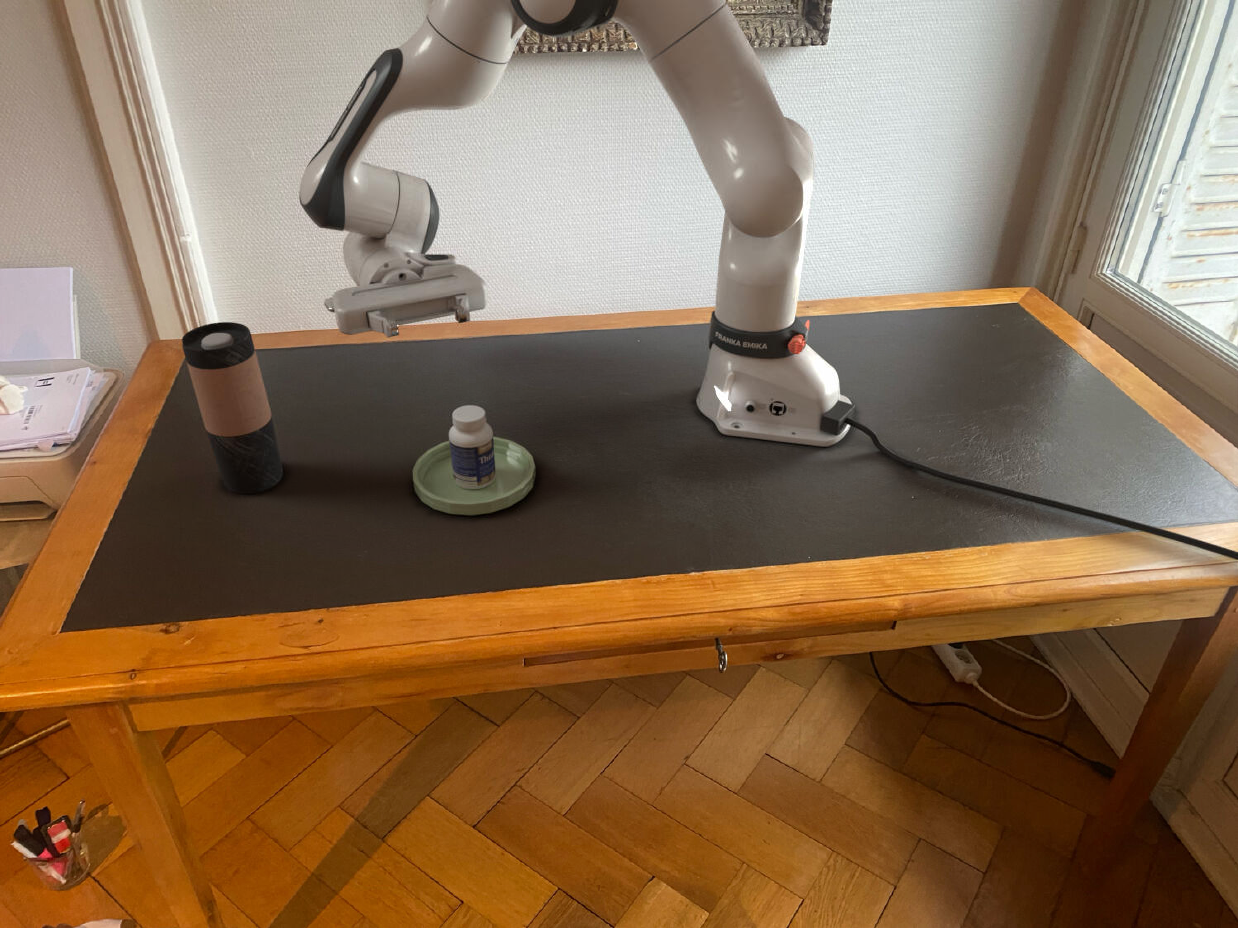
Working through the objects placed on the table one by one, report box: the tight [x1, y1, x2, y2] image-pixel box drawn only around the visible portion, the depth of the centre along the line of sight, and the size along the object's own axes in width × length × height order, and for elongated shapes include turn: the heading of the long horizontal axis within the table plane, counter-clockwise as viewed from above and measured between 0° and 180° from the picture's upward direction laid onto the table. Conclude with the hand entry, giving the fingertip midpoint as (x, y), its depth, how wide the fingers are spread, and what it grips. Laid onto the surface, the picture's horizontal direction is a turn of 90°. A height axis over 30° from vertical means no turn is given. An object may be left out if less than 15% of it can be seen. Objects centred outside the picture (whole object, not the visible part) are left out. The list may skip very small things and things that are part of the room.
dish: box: [412, 436, 537, 516], centre depth 112 cm, size 15×15×2 cm
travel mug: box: [181, 321, 284, 495], centre depth 107 cm, size 8×8×20 cm
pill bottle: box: [448, 404, 496, 489], centre depth 110 cm, size 5×5×10 cm
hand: (429, 324), depth 112 cm, fingers open, 8 cm apart
